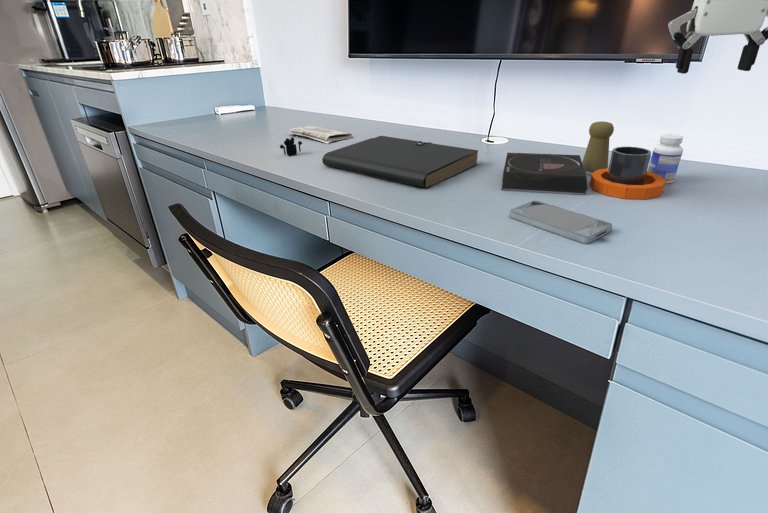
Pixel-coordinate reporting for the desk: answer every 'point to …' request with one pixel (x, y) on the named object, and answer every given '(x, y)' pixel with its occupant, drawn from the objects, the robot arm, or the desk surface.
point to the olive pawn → (598, 146)
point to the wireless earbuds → (290, 147)
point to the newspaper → (320, 133)
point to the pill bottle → (666, 157)
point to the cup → (628, 165)
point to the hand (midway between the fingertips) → (712, 71)
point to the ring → (627, 186)
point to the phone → (561, 221)
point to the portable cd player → (544, 173)
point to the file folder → (403, 160)
